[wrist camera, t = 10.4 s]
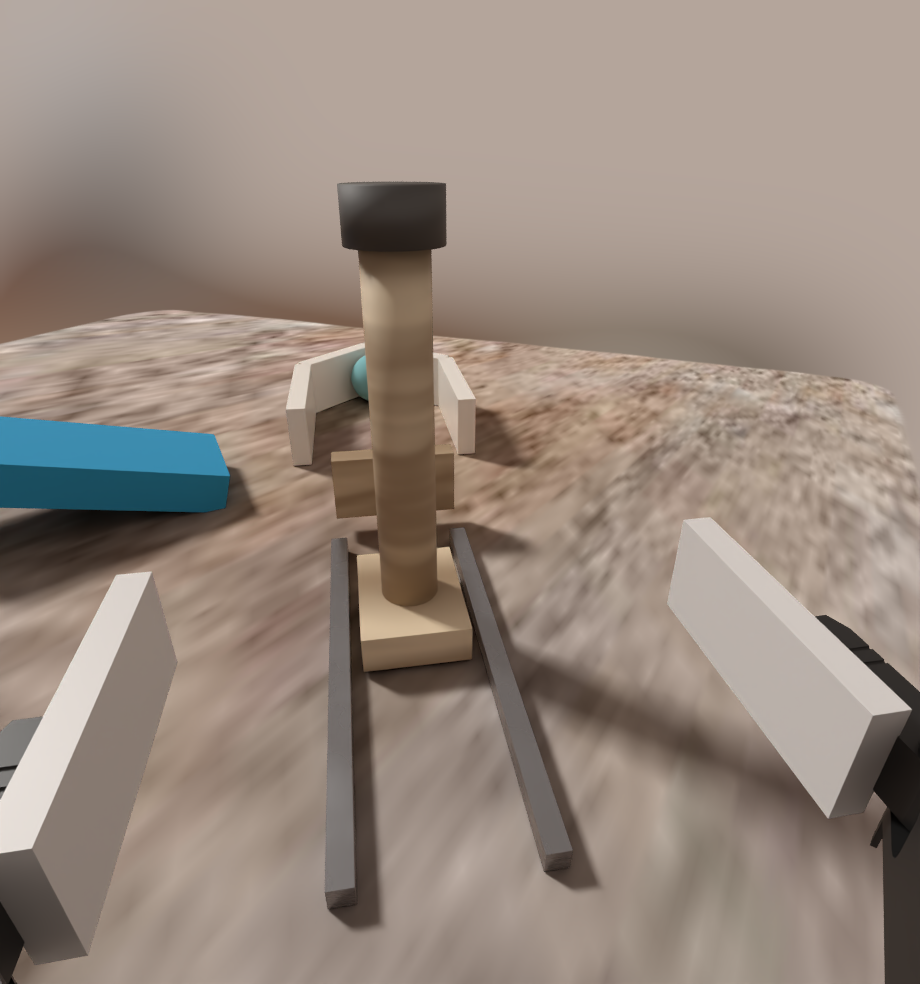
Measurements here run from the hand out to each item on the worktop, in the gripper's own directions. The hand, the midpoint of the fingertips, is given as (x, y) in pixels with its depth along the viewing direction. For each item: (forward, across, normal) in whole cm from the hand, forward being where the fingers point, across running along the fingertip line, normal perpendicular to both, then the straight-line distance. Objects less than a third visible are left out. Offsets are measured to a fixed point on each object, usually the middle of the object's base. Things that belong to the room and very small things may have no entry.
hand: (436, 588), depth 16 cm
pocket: (+35, 0, -9) cm, 36 cm away
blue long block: (+22, -19, -9) cm, 31 cm away
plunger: (+12, 0, -9) cm, 15 cm away
